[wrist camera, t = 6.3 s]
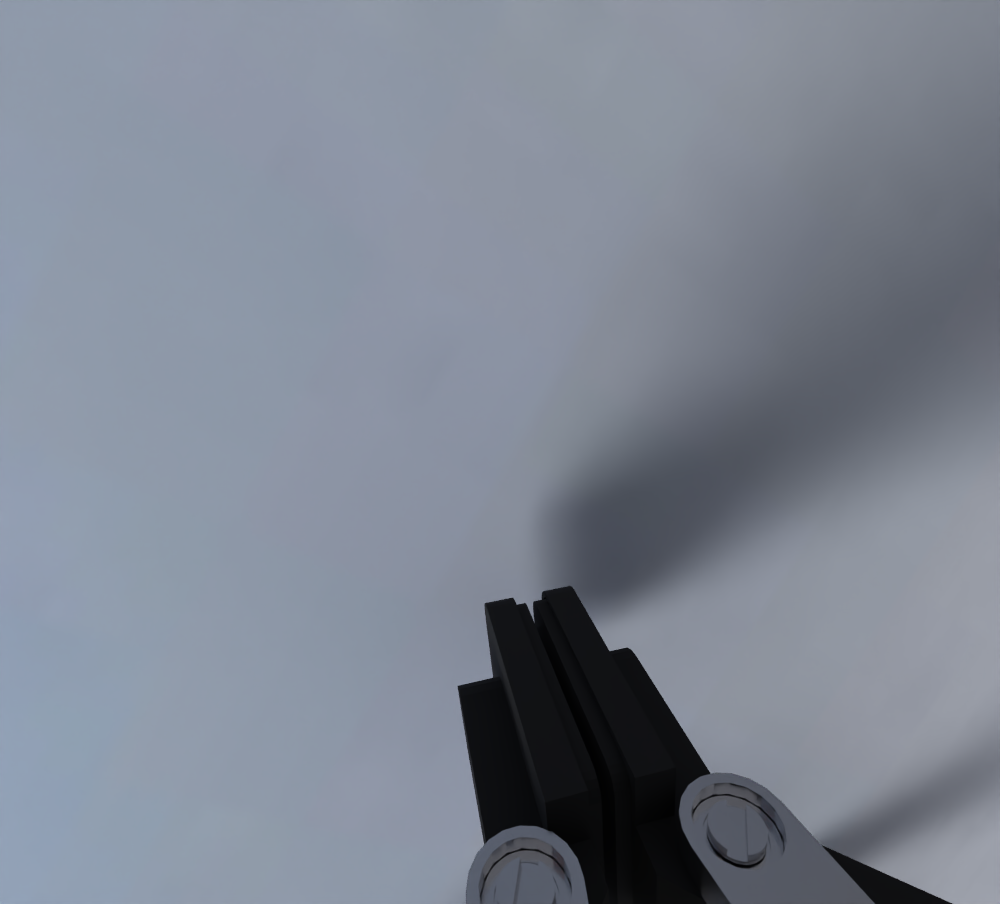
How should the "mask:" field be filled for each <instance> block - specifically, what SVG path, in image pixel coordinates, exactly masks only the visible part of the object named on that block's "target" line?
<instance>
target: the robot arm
mask: <svg viewBox="0 0 1000 904" xmlns="http://www.w3.org/2000/svg"><path fill="white" fill-rule="evenodd" d="M533 611H534V621H533V619H532V616H531V614H530V611H529V609H528V607H527V605H526V603H524V604H519V605H516V602H515V600H514V598H509V599H504V600H499V601H494V602H489V603H485V615H486V623H487V631H488V639H489V647H490V655H491V663H492V672H493V678H491V679H486V680H482V681H477V682H473V683H469V684H464V685H460V686H458V691H459V698H460V704H461V711H462V717H463V724H464V730H465V736H466V742H467V748H468V754H469V760H470V765H471V771H472V777H473V783H474V788H475V794H476V800H477V805H478V811H479V817H480V822H481V828H482V834H483V840H484V846H483V847H482V848H481V849H480V851H479V852H478V853H477V854H476V857H475V859H474V861H473V863H472V865H471V868H470V870H469V873H468V880H467V887H466V904H952V903H950V902H947V901H945V900H943V899H941V898H938V897H936V896H934V895H932V894H929V893H927V892H925V891H923V890H920V889H918V888H916V887H914V886H912V885H909V884H907V883H905V882H903V881H900V880H898V879H896V878H894V877H891V876H889V875H887V874H885V873H882V872H880V871H878V870H876V869H874V868H871V867H869V866H867V865H865V864H862V863H860V862H858V861H856V860H853V859H851V858H849V857H847V856H844V855H842V854H840V853H838V852H836V851H833V850H831V849H829V848H827V847H824V846H822V845H821V844H820V843H819V842H818V841H817V840H816V839H815V838H814V837H813V835H812V834H811V833H810V832H809V831H808V830H807V829H806V828H805V827H804V826H803V825H802V823H801V822H800V821H799V820H798V819H797V818H796V817H795V816H794V815H793V814H792V813H791V811H790V810H789V809H788V808H787V807H786V806H785V805H784V804H783V803H782V802H781V801H780V800H779V799H778V798H777V797H776V796H775V795H774V794H772V793H771V792H770V791H769V790H768V789H767V788H765V787H763V786H762V785H760V784H758V783H756V782H754V781H753V780H751V779H749V778H746V777H742V776H739V775H735V774H732V773H712V774H710V772H709V770H708V769H707V767H706V766H705V764H704V763H703V761H702V759H701V758H700V756H699V755H698V753H697V751H696V750H695V748H694V747H693V745H692V744H691V742H690V740H689V739H688V737H687V736H686V734H685V732H684V731H683V729H682V728H681V726H680V725H679V723H678V721H677V720H676V718H675V717H674V715H673V714H672V712H671V710H670V709H669V707H668V706H667V704H666V702H665V701H664V699H663V698H662V696H661V695H660V693H659V691H658V690H657V688H656V687H655V685H654V684H653V682H652V680H651V679H650V677H649V676H648V674H647V672H646V671H645V669H644V668H643V666H642V665H641V663H640V661H639V660H638V658H637V657H636V655H635V654H634V653H633V651H632V650H631V649H629V648H623V649H619V650H614V651H609V650H608V648H607V646H606V644H605V643H604V641H603V639H602V637H601V636H600V634H599V632H598V630H597V629H596V627H595V625H594V624H593V622H592V620H591V618H590V617H589V615H588V613H587V611H586V610H585V608H584V606H583V604H582V603H581V601H580V599H579V597H578V596H577V594H576V592H575V590H574V589H573V588H572V587H571V586H567V587H562V588H558V589H553V590H548V591H543V592H542V600H538V601H534V602H533ZM534 622H535V624H534Z"/></svg>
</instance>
